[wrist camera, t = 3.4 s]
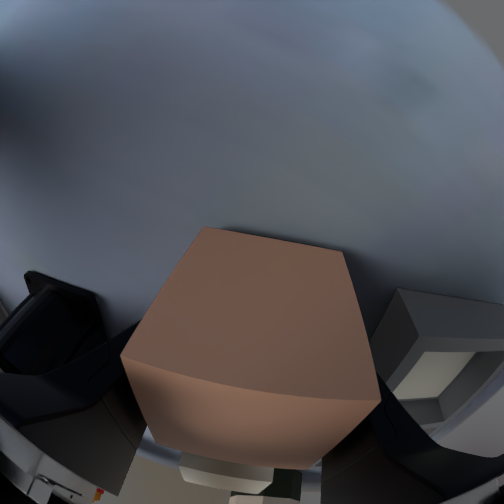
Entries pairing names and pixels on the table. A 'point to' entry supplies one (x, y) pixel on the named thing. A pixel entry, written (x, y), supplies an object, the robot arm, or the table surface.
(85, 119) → the table surface
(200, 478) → the ivory block
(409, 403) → the pocket frame
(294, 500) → the wine bottle
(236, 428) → the terracotta block
